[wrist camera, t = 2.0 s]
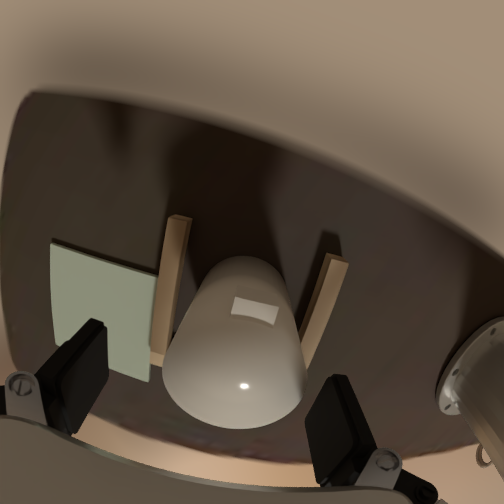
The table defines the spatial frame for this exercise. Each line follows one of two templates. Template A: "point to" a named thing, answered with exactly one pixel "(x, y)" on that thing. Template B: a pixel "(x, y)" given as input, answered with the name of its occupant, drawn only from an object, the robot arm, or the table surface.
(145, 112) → the table surface
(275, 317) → the labeled white canister
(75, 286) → the sage tile
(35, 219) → the table surface
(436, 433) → the table surface
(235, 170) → the table surface
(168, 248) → the oak stall
